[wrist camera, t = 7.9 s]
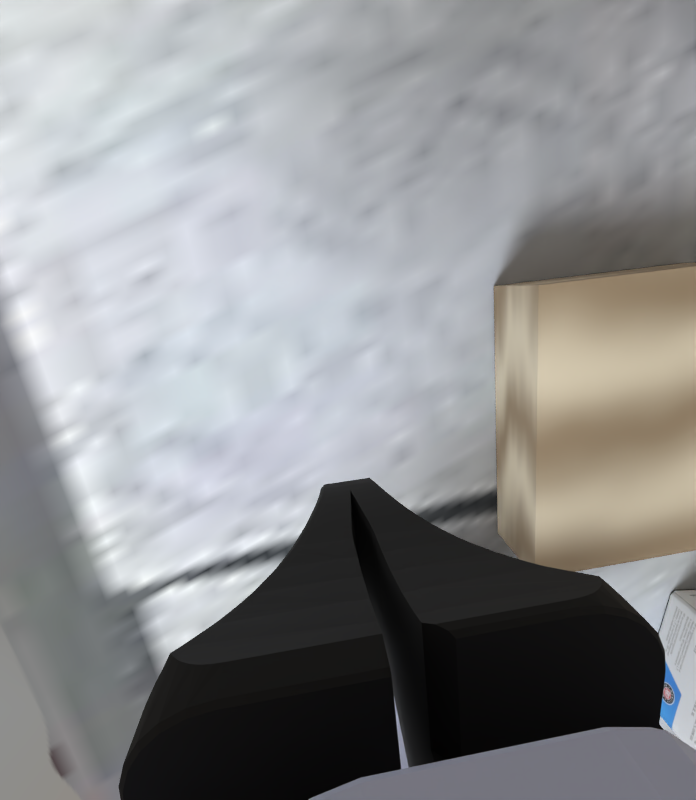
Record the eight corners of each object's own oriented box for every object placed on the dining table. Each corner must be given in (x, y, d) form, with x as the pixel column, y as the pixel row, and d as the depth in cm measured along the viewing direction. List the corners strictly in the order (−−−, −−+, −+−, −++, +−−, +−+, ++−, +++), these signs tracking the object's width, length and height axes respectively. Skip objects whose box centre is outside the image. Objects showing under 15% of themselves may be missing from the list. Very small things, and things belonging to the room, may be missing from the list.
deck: (656, 505, 25) (721, 545, 21) (497, 532, 24) (534, 578, 20) (681, 263, 21) (766, 257, 17) (493, 286, 20) (538, 285, 17)
